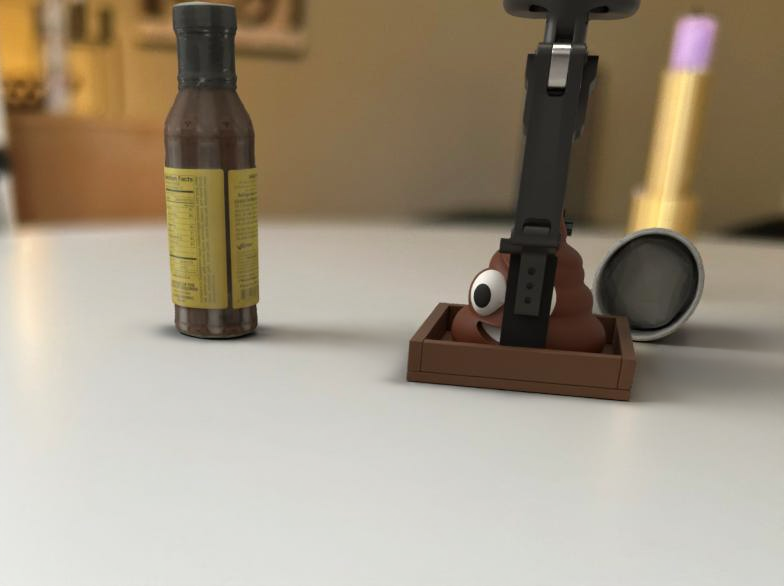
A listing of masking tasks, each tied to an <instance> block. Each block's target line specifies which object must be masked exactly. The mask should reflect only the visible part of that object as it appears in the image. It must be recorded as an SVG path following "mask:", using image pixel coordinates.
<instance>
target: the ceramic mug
mask: <svg viewBox="0 0 784 586" xmlns="http://www.w3.org/2000/svg"><path fill="white" fill-rule="evenodd" d="M704 266H705V265H704V261H703V259H702V256H701V253H700V251H699V250H698V248H697V246H695V245H694V243H693V242H692V241H691V240H690V239H689V238H688V237H686V236H685V235H684V234H682V233H680V232H678V231H676V230H673V229H670V228H665V227H648V228H643V229H637V230H635V231H634V232H632V233H629V234H627V235H625V236H624V237H622V238H621V239H619V240H617V242H615V243H614V244H613V245H612V246H611V247H609V249H608V250H607V252H605V254H604V255H603V257H601V260H600V261H599V263H598V265H597V266H596V267H597V268H596V270H595V273H594V277H593V278H592V287H591V288H589V289H590V290H591V292H592V295H593V308H592V314H600V315H614V316H626V317H628V322H629V327H630V331H631V336H632V341H638V342H646V341H647V342H649V341H654V340H655V341H656V340H659V339H662V338H664V337H667V336H668V335H670V334H672V333H674V332H675V331H677V330H678V329H680V328H681V327H682V326H683V325H684V324H685V323H687V322H688V321H689V319H690V318H691V317H692V315H693V314H694V313H695V311H696V309H697V308H698V306H699V303H700V301H701V299H702V295H703V292H704V288H705V279H706V274H705V273H706V272H705V267H704Z"/></svg>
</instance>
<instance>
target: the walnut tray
mask: <svg viewBox="0 0 784 586" xmlns="http://www.w3.org/2000/svg"><path fill="white" fill-rule="evenodd" d="M466 305H468V304H467V303H466V304H464V303H452V302H439V303H438V304H437V305H436V306H435V308H433V310H432V311H431V313H430V314H429V315H428V316H427V318H426V319H425V320H424V321H423V323H422V324H421V325H420V326H419V328H418V329H417V331H416V332H415V333H414V334H413V335H412V337H411V338H410V339H409V341H408V353H407V354H408V355H407V368H406V370H407V371H406V379H405V380H406V381H408V382H417V383H418V382H419V383H427V384H428V383H429V384H440V385H451V386H453V385H454V386H462V387H471V388H472V387H473V388H485V389H496V390H505V391H517V392H527V393H529V392H530V393H538V394H539V393H540V394H551V395H560V396H561V395H562V396H572V397H583V398H594V399H605V400H606V399H607V400H616V401H630V399H631V393H632V387H633V382H634V377H635V372H636V366H637V361H638V360H637V356H636V352H635V346H634V340H632V336H631V331H630V327H629V322H628V317H626V316H614V315H600V314H593V315H594V316H595V317H596V318H597V319H598V320H599V321H600V322H601V323H602V325H603V327H604V330H605V336H606V340H605V346H604V349H603V351H602V353H601V354H598V353H586V352H574V351H561V350H549V349H537V348H525V347H513V346H501V345H489V344H477V343H465V342H453V340H452V335H451V329H452V324H453V321H454V318H455V316H456V315H457V313H458V312H459V311H460V310H461V309H462V308H463V307H465V306H466Z"/></svg>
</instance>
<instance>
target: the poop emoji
mask: <svg viewBox="0 0 784 586" xmlns="http://www.w3.org/2000/svg"><path fill="white" fill-rule="evenodd" d="M565 206H566V203H563V210H562V217H561V223H560V230H561V232H562V235H561V242H560V248H559V251H558V252H556V256H558V262H557V269H556V276H555V283H554V289H553V296H552V303H551V310H550V317H549V324H548V331H547V337H546V344H545V349H549V350H561V351H574V352H586V353H598V354H601V353H602V351H603V349H604V346H605V340H606V336H605V330H604V327H603V325H602V323H601V322H600V321H599V320H598V319H597V318H596V317H595V316H594V315H593V314H592V308H593V295H592V292H591V290H590V289H591V288H590V287H589V286H588V285H586V283H585V277H586V274H585V268H584V260H583V257H582V255H581V254H580V253H579V252H578V250H576V249H575V248H574V247H573V246H571V245H570V244H569V243H568V242H567V237H568V236H567V230H566V227H565V223H564V221H565V220H564V217H563V211H564V208H566V207H565ZM508 238H509V239H511V236H510V237H508ZM556 251H557V250H556ZM509 261H510V254H501V253H499V249H497V250H496V251H495V253H494V254H493V255H492V256H491V258H490V261H489V263H488V267H486V268H484V269H482V270H481V271H479V272H478V273H476V275H475V276H474V278H473V279H472V281H471V283H470V286H469V289H468V296H467V297H468V300H467V301H468V304H467V305H466V306H465V307H463V308H462V309H461V310H460V311H459V312H458V313H457V315H456V316H455V318H454V321H453V324H452V329H451V335H452V340H453V342H465V343H477V344H489V345H499V342H500V334H501V326H502V318H503V310H504V302H505V294H506V286H507V277H508V269H509Z"/></svg>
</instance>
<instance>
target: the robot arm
mask: <svg viewBox="0 0 784 586" xmlns="http://www.w3.org/2000/svg"><path fill="white" fill-rule="evenodd" d="M641 1H642V0H502V6H503V10H504V11H505V12H506V14H508V15H510V16H512V17H516V18H521V19H529V20H546V21H545V25H544V27H545V28H544V32H543V33H544V34H543V40H542V41H539V42H538V44H537V47H536V49H535V50H534V53H527V57H526V62H525V68H524V69H525V70H524V89H525V91H526V94H525V100H524V105H523V106H524V107H523V114H522V134H523V136H524V137H526V138H525V145H524V152H523V153H524V154H523V159H522V168H521V174H520V175H521V176H520V182H519V189H518V198H517V204H516V212H515V219H514V226H513V227H512V228H511V230H510V237H511V239H509V238H510V237H508V238H507V237H500V240H499V249H498V250H499V253H501V254H510V261H509V269H508V277H507V286H506V294H505V302H504V310H503V318H502V326H501V334H500V342H499V345H501V346H513V347H525V348H537V349H545V344H546V337H547V331H548V324H549V317H550V310H551V303H552V296H553V289H554V283H555V276H556V269H557V262H558V256H556V252H558V251H559V248H560V242H561V235H562V232H561V230H560V223H561V217H562V210H563V203H565V202H566V197H567V196H566V195H567V189H568V181H569V174H570V167H571V162H572V161H571V160H572V153H573V146H574V142H575V141H577V140H579V139H580V138H581V137H582V136H583V133H584V129H585V123H586V122H585V121H586V115H587V110H588V109H587V108H588V101H589V97H590V95H591V94H592V93H593V91H594V89H595V85H596V80H597V71H598V65H599V60H600V55H596V54H590V55H589V51H588V45H587V38H588V31H589V30H588V29H589V24H590V23H589V22H590V21H617V20H625V19H628V18H631V17H633V16H634V15H636V14H637V12H639V9H640V7H641V3H642V2H641ZM565 204H566V203H565ZM566 212H567V211H566V207H564V211H563V218H565V216H566ZM564 223H565V227H566V230H567V237H572V235H573V227H574V221H571V220H570V221H569V220H564ZM556 250H557V251H556Z"/></svg>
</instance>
